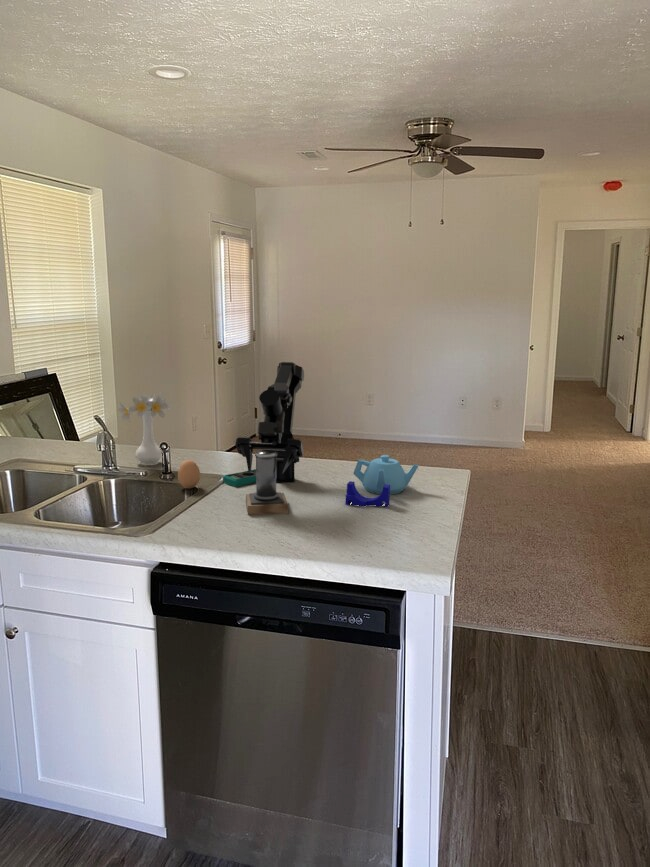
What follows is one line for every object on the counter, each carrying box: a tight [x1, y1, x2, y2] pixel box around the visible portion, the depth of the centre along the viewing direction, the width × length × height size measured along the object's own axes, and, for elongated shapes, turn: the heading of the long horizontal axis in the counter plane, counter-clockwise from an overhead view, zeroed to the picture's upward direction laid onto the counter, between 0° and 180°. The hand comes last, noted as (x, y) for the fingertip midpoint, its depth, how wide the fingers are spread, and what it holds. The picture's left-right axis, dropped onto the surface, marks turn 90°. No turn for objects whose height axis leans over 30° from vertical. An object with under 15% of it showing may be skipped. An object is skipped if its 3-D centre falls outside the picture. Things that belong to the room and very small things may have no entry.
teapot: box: [352, 454, 419, 495], centre depth 207 cm, size 15×15×11 cm
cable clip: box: [344, 480, 391, 508], centre depth 192 cm, size 12×4×6 cm, turn 75°
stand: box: [245, 491, 289, 516], centre depth 188 cm, size 11×11×3 cm
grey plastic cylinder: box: [254, 449, 278, 501], centre depth 187 cm, size 7×7×13 cm
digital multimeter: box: [222, 468, 256, 488], centre depth 215 cm, size 7×15×3 cm, turn 132°
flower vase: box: [116, 391, 172, 467], centre depth 231 cm, size 13×18×25 cm
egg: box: [177, 459, 201, 490], centre depth 205 cm, size 7×7×9 cm
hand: (265, 472), depth 185 cm, fingers open, 9 cm apart
